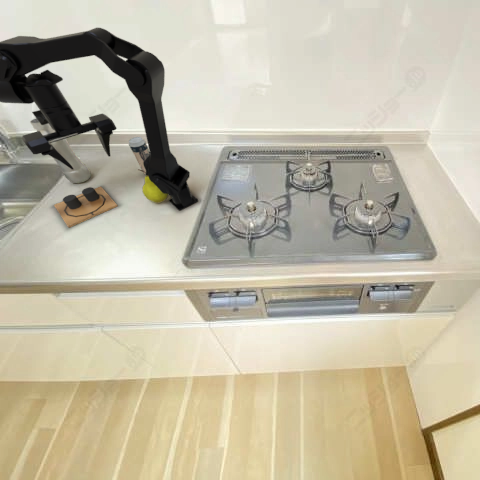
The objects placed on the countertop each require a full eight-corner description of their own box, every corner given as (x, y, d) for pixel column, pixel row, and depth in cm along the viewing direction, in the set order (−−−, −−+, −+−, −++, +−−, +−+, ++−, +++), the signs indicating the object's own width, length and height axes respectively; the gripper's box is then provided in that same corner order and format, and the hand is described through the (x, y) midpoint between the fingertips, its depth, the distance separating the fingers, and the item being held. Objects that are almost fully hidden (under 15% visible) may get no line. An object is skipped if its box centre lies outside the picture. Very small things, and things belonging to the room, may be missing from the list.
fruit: (166, 190, 90) (150, 157, 81) (177, 199, 87) (161, 166, 78) (145, 199, 86) (126, 166, 77) (155, 210, 83) (136, 176, 74)
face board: (117, 206, 84) (116, 204, 83) (69, 227, 77) (67, 226, 77) (101, 187, 90) (100, 185, 89) (55, 206, 83) (53, 204, 83)
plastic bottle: (96, 179, 93) (56, 119, 78) (74, 188, 89) (27, 128, 74) (89, 171, 96) (48, 113, 81) (67, 180, 92) (20, 120, 77)
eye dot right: (101, 198, 85) (95, 190, 83) (89, 203, 84) (83, 195, 82) (97, 193, 87) (91, 185, 85) (86, 198, 85) (80, 190, 83)
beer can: (155, 176, 94) (139, 144, 86) (141, 176, 94) (124, 143, 86) (161, 168, 98) (146, 136, 89) (147, 168, 98) (131, 136, 89)
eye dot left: (83, 205, 83) (77, 198, 81) (71, 210, 81) (64, 203, 79) (79, 201, 84) (73, 193, 82) (67, 205, 83) (61, 198, 80)
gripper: (84, 84, 73) (115, 140, 85) (-5, 104, 64) (43, 163, 76) (100, 96, 68) (130, 153, 80) (5, 120, 59) (55, 181, 71)
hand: (91, 162), depth 77 cm, fingers open, 9 cm apart
